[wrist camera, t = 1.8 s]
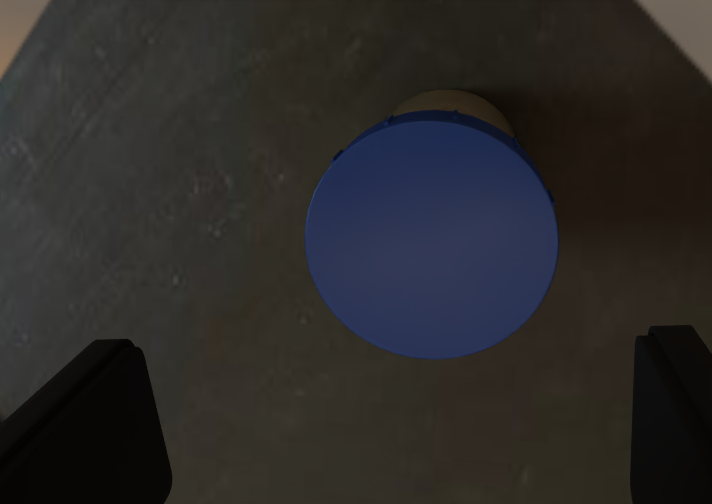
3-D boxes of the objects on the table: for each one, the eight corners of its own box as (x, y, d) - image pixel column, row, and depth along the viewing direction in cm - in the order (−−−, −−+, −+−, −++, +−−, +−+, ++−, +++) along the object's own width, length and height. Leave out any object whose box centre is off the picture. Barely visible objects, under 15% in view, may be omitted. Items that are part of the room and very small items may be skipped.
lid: (550, 99, 18) (558, 109, 17) (552, 328, 21) (560, 358, 19) (305, 119, 20) (288, 131, 18) (332, 332, 22) (320, 361, 20)
